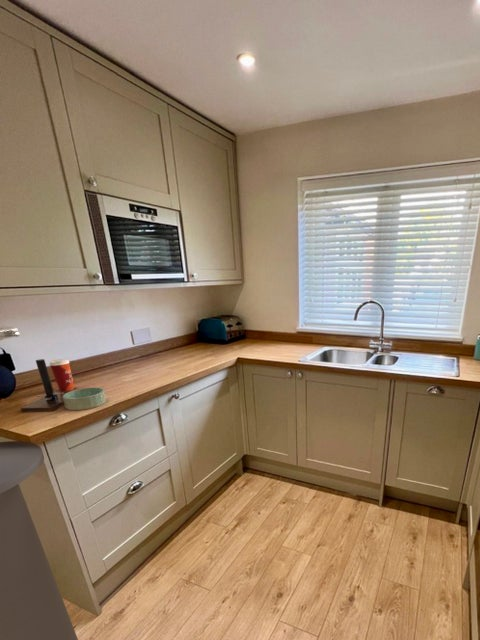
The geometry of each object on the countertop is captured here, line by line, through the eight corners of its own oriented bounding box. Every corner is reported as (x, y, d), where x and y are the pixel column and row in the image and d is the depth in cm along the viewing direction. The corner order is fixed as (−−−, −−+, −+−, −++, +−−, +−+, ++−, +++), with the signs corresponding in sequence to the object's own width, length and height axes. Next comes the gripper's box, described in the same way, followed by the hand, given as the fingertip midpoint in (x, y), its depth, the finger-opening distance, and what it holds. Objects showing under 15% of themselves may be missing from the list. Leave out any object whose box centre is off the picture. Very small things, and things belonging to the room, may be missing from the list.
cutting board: (52, 411, 130) (51, 407, 129) (21, 411, 129) (20, 408, 129) (83, 394, 148) (83, 391, 148) (56, 394, 148) (55, 391, 148)
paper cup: (76, 390, 153) (68, 361, 148) (56, 393, 150) (47, 363, 145) (77, 386, 160) (69, 357, 155) (58, 388, 156) (49, 359, 151)
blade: (61, 401, 135) (49, 361, 129) (35, 405, 132) (21, 363, 126) (67, 395, 143) (56, 356, 137) (42, 397, 140) (30, 358, 134)
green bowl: (93, 410, 130) (90, 398, 128) (57, 411, 130) (53, 399, 128) (113, 397, 143) (110, 387, 142) (80, 398, 143) (77, 387, 141)
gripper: (-58, 331, 121) (-26, 331, 119) (-1, 323, 140) (27, 324, 138) (-51, 348, 123) (-20, 349, 121) (4, 338, 142) (32, 339, 140)
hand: (6, 335), depth 130 cm, fingers open, 8 cm apart
